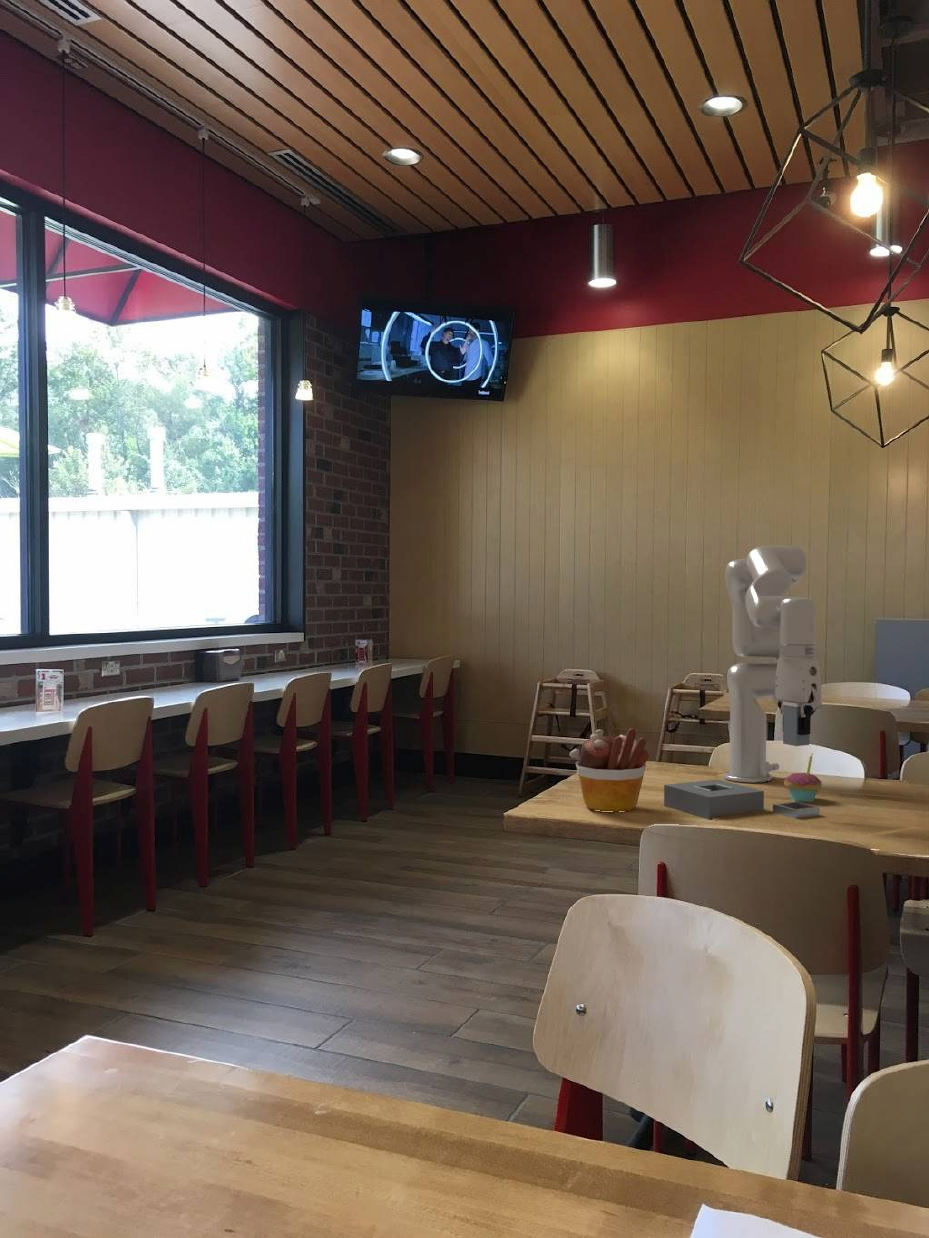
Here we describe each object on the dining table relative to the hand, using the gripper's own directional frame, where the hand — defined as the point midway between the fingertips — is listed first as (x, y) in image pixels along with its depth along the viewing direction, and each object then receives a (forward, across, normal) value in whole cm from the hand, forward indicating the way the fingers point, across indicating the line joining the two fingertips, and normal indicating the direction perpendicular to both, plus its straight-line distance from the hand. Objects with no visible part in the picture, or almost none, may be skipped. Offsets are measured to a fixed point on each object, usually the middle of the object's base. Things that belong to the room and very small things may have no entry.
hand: (796, 732), depth 226 cm
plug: (+3, 0, 0) cm, 3 cm away
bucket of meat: (+19, +25, +33) cm, 46 cm away
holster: (+19, 0, 0) cm, 19 cm away
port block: (+19, +14, +12) cm, 26 cm away
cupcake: (+19, +11, -13) cm, 26 cm away
